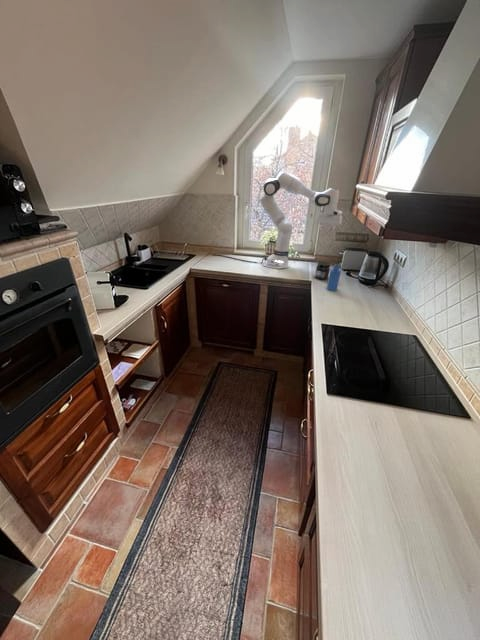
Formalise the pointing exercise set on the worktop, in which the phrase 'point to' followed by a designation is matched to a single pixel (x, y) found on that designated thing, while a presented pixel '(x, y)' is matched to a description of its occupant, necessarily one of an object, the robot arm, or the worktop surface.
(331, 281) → the blue bottle
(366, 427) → the worktop surface
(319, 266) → the supplement container
